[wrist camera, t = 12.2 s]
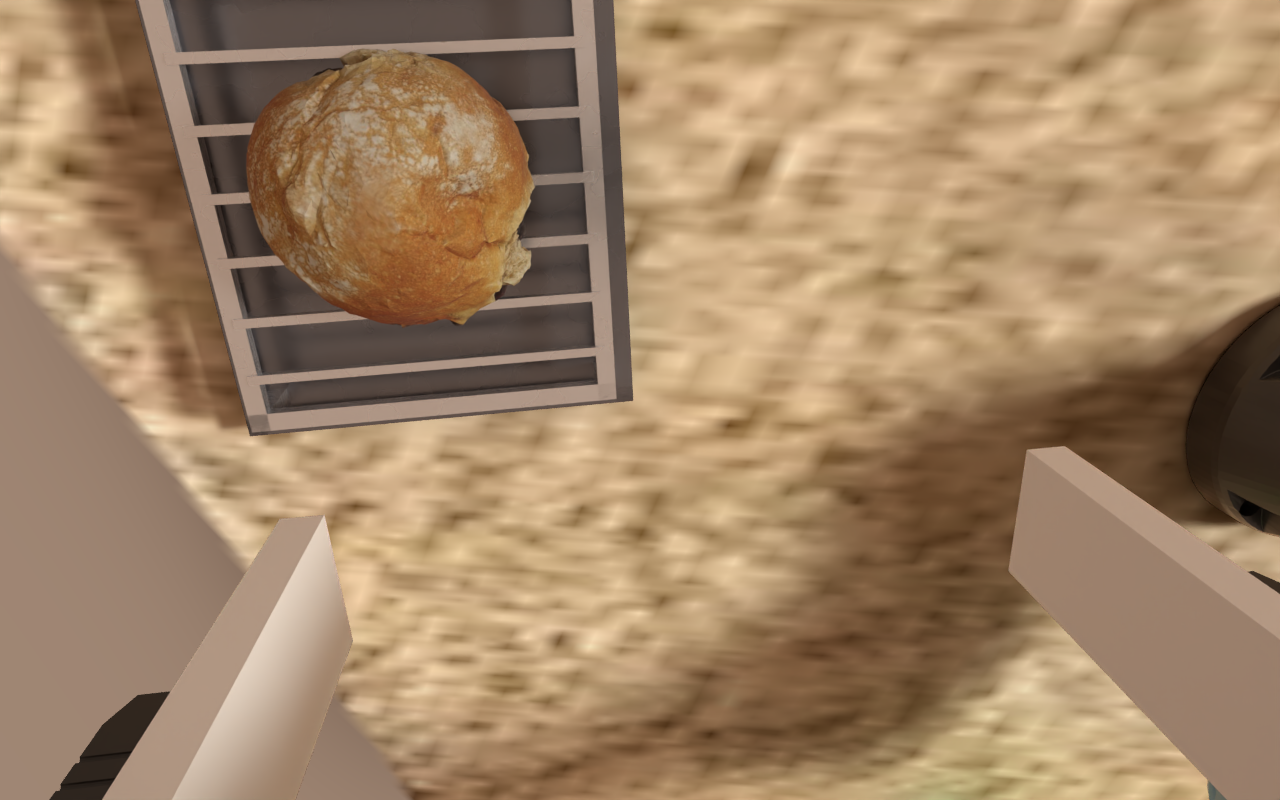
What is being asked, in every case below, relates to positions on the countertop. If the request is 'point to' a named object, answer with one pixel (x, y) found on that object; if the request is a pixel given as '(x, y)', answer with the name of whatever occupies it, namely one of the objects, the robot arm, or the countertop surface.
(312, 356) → the cooling rack
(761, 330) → the countertop surface
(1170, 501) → the countertop surface
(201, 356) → the countertop surface
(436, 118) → the bread roll
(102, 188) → the countertop surface
